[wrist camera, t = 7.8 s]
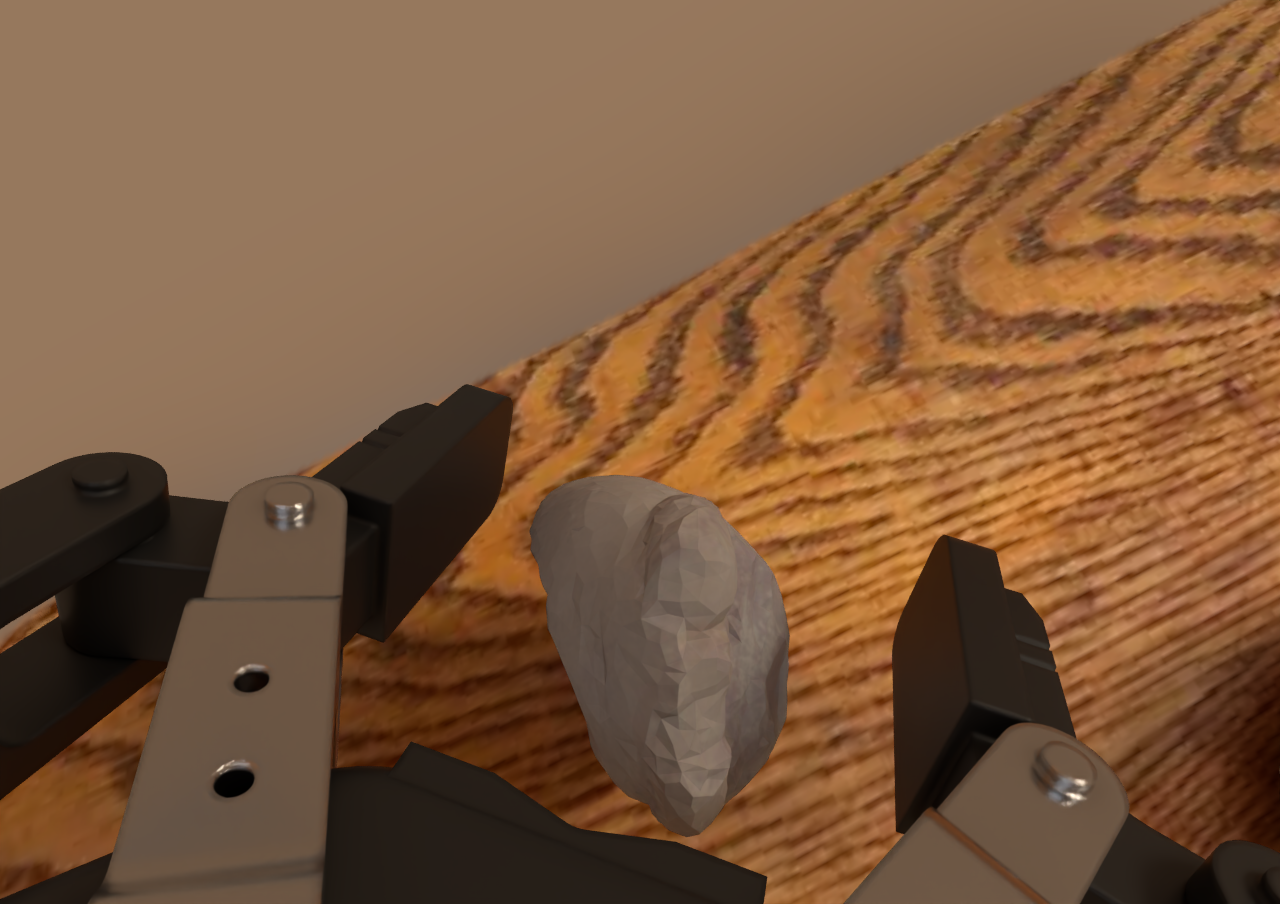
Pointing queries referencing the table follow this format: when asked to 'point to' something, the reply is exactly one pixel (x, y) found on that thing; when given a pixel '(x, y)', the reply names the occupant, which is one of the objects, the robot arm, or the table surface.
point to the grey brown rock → (664, 640)
